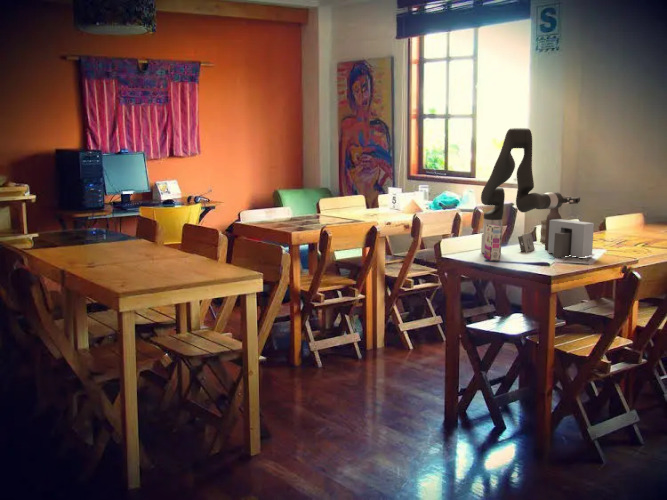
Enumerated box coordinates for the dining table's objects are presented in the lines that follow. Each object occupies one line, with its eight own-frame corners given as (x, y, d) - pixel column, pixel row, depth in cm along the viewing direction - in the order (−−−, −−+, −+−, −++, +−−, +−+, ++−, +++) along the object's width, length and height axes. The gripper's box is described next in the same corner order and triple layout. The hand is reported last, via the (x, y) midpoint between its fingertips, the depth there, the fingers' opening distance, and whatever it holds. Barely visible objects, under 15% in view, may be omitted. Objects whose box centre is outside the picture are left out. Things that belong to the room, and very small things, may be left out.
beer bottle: (557, 251, 400) (560, 193, 395) (542, 249, 404) (546, 192, 399) (561, 249, 406) (564, 192, 401) (547, 248, 410) (550, 191, 405)
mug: (538, 243, 426) (539, 221, 424) (541, 240, 436) (542, 219, 434) (568, 245, 421) (569, 223, 419) (570, 242, 430) (571, 220, 428)
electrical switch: (527, 252, 396) (526, 234, 395) (517, 252, 399) (517, 234, 398) (534, 250, 403) (534, 232, 402) (525, 250, 406) (524, 232, 405)
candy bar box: (500, 261, 370) (502, 226, 367) (490, 261, 369) (491, 226, 367) (493, 257, 381) (495, 223, 378) (483, 257, 380) (485, 223, 378)
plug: (561, 258, 379) (562, 233, 377) (553, 256, 383) (554, 232, 381) (572, 256, 385) (573, 232, 383) (564, 255, 389) (566, 231, 387)
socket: (582, 259, 377) (584, 224, 375) (547, 253, 393) (549, 220, 390) (591, 257, 382) (594, 223, 380) (557, 251, 398) (559, 218, 395)
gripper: (564, 193, 349) (585, 192, 359) (538, 191, 360) (559, 189, 370) (563, 210, 350) (584, 208, 360) (537, 207, 361) (558, 205, 371)
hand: (571, 198), depth 365 cm, fingers open, 8 cm apart
